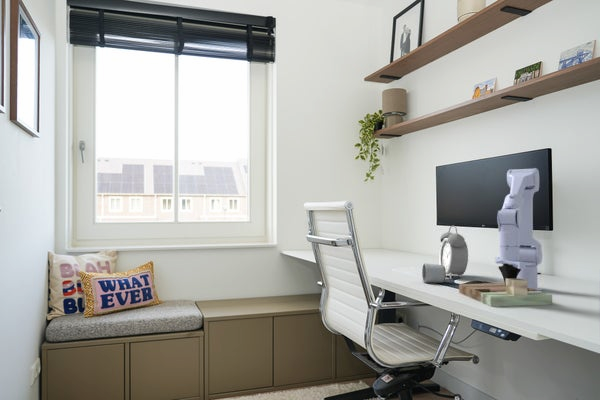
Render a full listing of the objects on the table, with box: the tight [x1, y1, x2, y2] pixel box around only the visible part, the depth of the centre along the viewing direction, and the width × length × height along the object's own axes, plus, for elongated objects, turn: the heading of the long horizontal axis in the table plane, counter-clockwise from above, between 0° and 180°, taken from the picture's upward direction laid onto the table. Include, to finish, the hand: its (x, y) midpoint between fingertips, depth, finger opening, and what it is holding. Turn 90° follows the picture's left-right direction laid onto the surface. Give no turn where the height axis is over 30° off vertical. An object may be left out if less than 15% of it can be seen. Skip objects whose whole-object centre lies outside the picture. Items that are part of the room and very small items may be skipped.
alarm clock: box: [438, 225, 469, 280], centre depth 199 cm, size 16×9×22 cm, turn 0°
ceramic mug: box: [421, 262, 447, 284], centre depth 186 cm, size 11×8×8 cm
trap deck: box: [458, 282, 553, 307], centre depth 154 cm, size 22×20×3 cm
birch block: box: [506, 278, 527, 295], centre depth 145 cm, size 4×4×4 cm
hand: (509, 288), depth 149 cm, fingers closed
